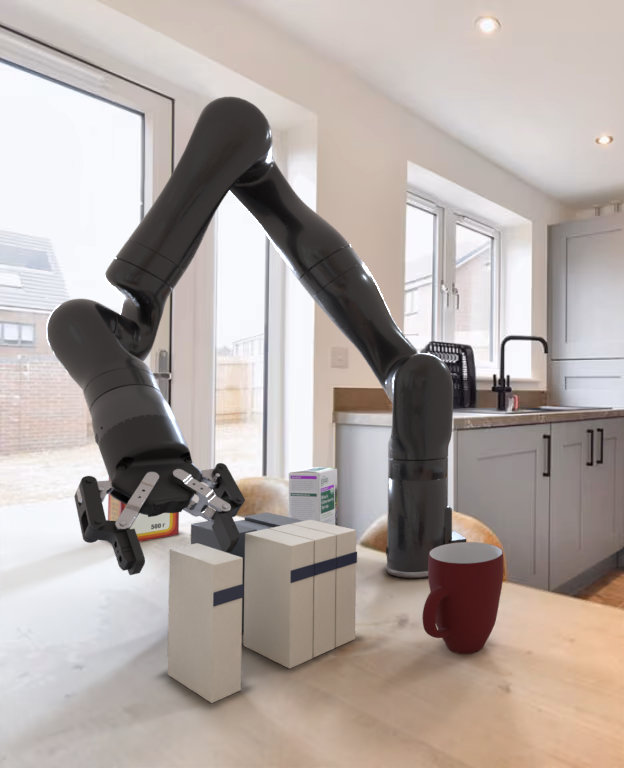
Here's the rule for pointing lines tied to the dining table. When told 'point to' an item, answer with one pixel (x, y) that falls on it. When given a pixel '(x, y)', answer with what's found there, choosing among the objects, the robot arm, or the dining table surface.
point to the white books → (299, 590)
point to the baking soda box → (146, 522)
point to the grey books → (252, 523)
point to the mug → (463, 594)
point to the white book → (205, 620)
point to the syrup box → (314, 495)
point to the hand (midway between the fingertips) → (187, 558)
